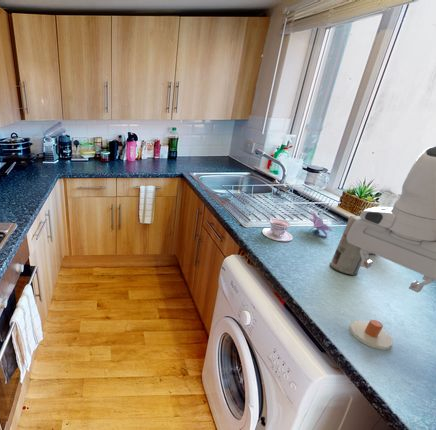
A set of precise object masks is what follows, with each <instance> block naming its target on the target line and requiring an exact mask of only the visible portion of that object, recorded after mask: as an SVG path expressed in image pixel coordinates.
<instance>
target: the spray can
mask: <svg viewBox="0 0 436 430" xmlns="http://www.w3.org/2000/svg"><path fill="white" fill-rule="evenodd" d="M358 219H361V218H360V215H356V214H355V215H349V217H348V220H347V223H346V225H345V228H344V230H343V232H342V235H341V238H340V240H339V242H338V245H337V246H336V250H335V252H334V255H333V257H332V259H331V261H330V263H329V265H330V266H331V268H332V269H334V270H335V271H337V272H340V273H343V274H347V275H351V276H354V275H358V272H359V270H360V268H361V266H360V264H361V262H362V259H361V255H360V250H361V248H359V247H357V246H355V245H352V244H350V243H348V241H347V239H346V236H347V234H348V232H349V230H350V228H351V226H352V225H353V223H354V222H355V221H356V220H358Z"/></svg>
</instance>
